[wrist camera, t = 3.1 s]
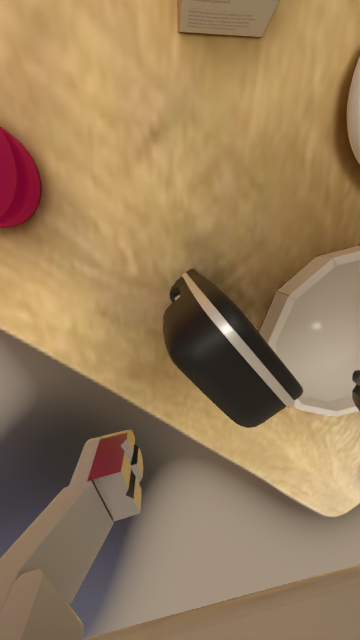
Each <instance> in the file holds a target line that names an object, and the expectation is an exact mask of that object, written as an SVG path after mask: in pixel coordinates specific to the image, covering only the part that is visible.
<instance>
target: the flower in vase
mask: <svg viewBox="0 0 360 640" xmlns="http://www.w3.org/2000/svg"><path fill="white" fill-rule="evenodd" d="M347 130H348V137H349V141H350V145H351V148H352V151H353V153H354V155H355V158H356V160H357V161H358V163H359V164H360V56H359V59H358V62H357V65H356V68H355V71H354V74H353V78H352V82H351V86H350V90H349V96H348V102H347Z"/></svg>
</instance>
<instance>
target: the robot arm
mask: <svg viewBox="0 0 360 640" xmlns="http://www.w3.org/2000/svg"><path fill="white" fill-rule="evenodd" d="M352 381H353V382H354V383H355V384H356V386H355V387H354V389H353V390H352V399H353V401H354V403H355V405H356V407H357V408H358V410H359V411H360V369H359V370H355V371H354V373H353V374H352ZM134 442H135V437H134V434H133V432H132V431H131V430H127V431H122V432H118V433H113V434H110V435H105V436H102V437H98V438H93V439H89V440H88V441H87V442H86V443H85V446H84V448H83V451H82V453H81V456H80V459H79V461H78V464H77V467H76V469H75V472H74V475H73V477H72V480H71V483H70V485H69V487H66V488H64V489H63V490H62V491H61V492H60V493H59V494H58V495H57V496H56V497H55V499H54V500H53V501H52V502H51V503H50V504H49V505H48V506H47V507H46V509H45V510H44V511H43V512H42V513H41V514H40V515H39V516H38V517H37V519H36V520H35V521H34V522H33V523H32V524H31V525H30V526H29V527H28V528H27V530H26V531H25V532H24V533H23V534H22V535H21V536H20V537H19V539H18V540H17V541H16V542H15V543H14V544H13V545H12V546H11V547H10V549H9V550H8V551H7V552H6V553H5V554H4V555H3V556H2V557H1V558H0V640H360V564H359V565H355V566H351V567H348V568H344V569H340V570H337V571H333V572H329V573H325V574H322V575H318V576H315V577H311V578H307V579H303V580H300V581H296V582H292V583H288V584H285V585H282V586H278V587H274V588H270V589H266V590H263V591H259V592H255V593H251V594H248V595H244V596H240V597H237V598H233V599H229V600H226V601H222V602H218V603H215V604H211V605H207V606H203V607H200V608H196V609H192V610H189V611H185V612H182V613H178V614H174V615H171V616H167V617H163V618H160V619H155V620H152V621H148V622H144V623H141V624H137V625H134V626H130V627H126V628H122V629H119V630H115V631H111V632H108V633H104V634H100V635H97V636H93V637H89V638H86V639H82V634H83V629H84V627H83V624H82V622H81V620H80V619H79V618H78V616H77V615H76V614H75V613H74V611H73V610H72V609H71V608H70V604H71V602H72V600H73V598H74V597H75V595H76V593H77V591H78V589H79V587H80V585H81V583H82V582H83V580H84V578H85V576H86V574H87V572H88V570H89V568H90V567H91V565H92V563H93V561H94V559H95V557H96V555H97V553H98V552H99V550H100V548H101V546H102V544H103V542H104V540H105V538H106V536H107V535H108V533H109V531H110V529H111V527H112V525H113V521H116V520H120V519H123V518H126V517H129V516H132V515H136V514H139V513H140V506H141V493H142V490H141V488H140V486H139V482H140V480H141V479H142V477H143V461H142V455H141V452H140V449H139V447H138V446H136V445H134Z"/></svg>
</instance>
